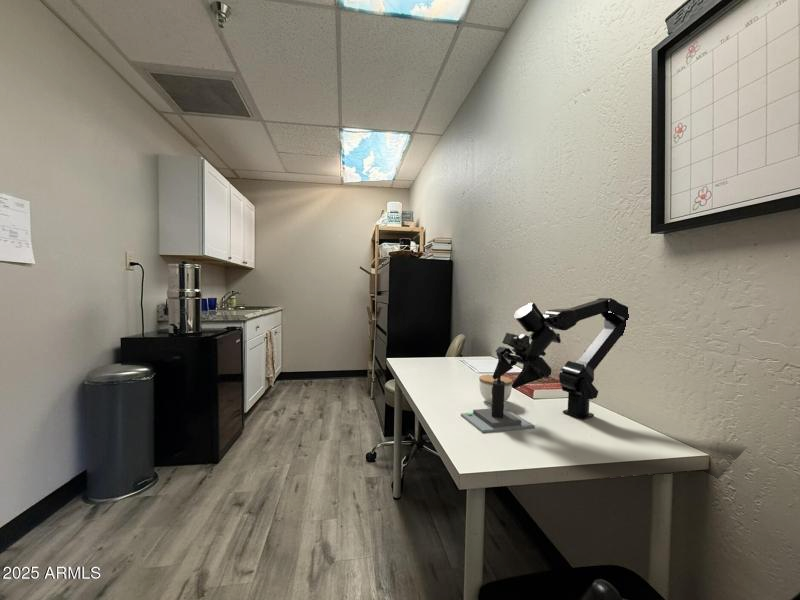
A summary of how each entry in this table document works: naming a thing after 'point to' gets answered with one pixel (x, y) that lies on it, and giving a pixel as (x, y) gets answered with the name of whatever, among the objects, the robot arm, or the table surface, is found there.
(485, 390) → the lidded jar
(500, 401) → the walkie-talkie
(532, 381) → the robot arm
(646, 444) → the table surface
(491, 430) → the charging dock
